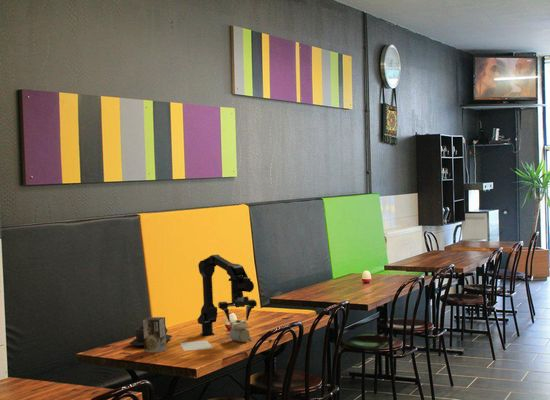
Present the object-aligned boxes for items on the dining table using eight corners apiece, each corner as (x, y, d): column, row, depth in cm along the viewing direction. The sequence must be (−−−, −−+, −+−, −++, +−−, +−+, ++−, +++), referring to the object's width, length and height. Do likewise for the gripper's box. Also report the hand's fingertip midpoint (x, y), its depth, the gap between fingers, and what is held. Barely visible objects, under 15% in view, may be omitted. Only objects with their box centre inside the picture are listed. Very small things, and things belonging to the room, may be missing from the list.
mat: (179, 344, 372) (179, 343, 372) (207, 341, 375) (207, 340, 375) (184, 351, 354) (184, 350, 354) (213, 349, 358) (213, 348, 358)
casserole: (152, 337, 391) (151, 321, 391) (180, 339, 382) (180, 323, 382) (121, 347, 369) (120, 330, 369) (150, 350, 360) (149, 333, 360)
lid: (229, 325, 376) (229, 319, 376) (243, 324, 378) (243, 317, 378) (233, 329, 366) (233, 322, 366) (247, 328, 367) (247, 321, 367)
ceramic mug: (240, 344, 367) (239, 328, 367) (229, 341, 373) (228, 326, 373) (255, 340, 374) (255, 325, 374) (245, 338, 380) (244, 323, 380)
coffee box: (167, 350, 359) (165, 317, 359) (160, 353, 353) (159, 319, 353) (150, 349, 362) (149, 316, 362) (143, 352, 356) (142, 319, 356)
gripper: (221, 293, 361) (222, 325, 362) (258, 291, 366) (259, 322, 366) (217, 290, 372) (218, 321, 372) (253, 288, 377) (254, 318, 377)
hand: (238, 321), depth 372 cm, fingers open, 9 cm apart
